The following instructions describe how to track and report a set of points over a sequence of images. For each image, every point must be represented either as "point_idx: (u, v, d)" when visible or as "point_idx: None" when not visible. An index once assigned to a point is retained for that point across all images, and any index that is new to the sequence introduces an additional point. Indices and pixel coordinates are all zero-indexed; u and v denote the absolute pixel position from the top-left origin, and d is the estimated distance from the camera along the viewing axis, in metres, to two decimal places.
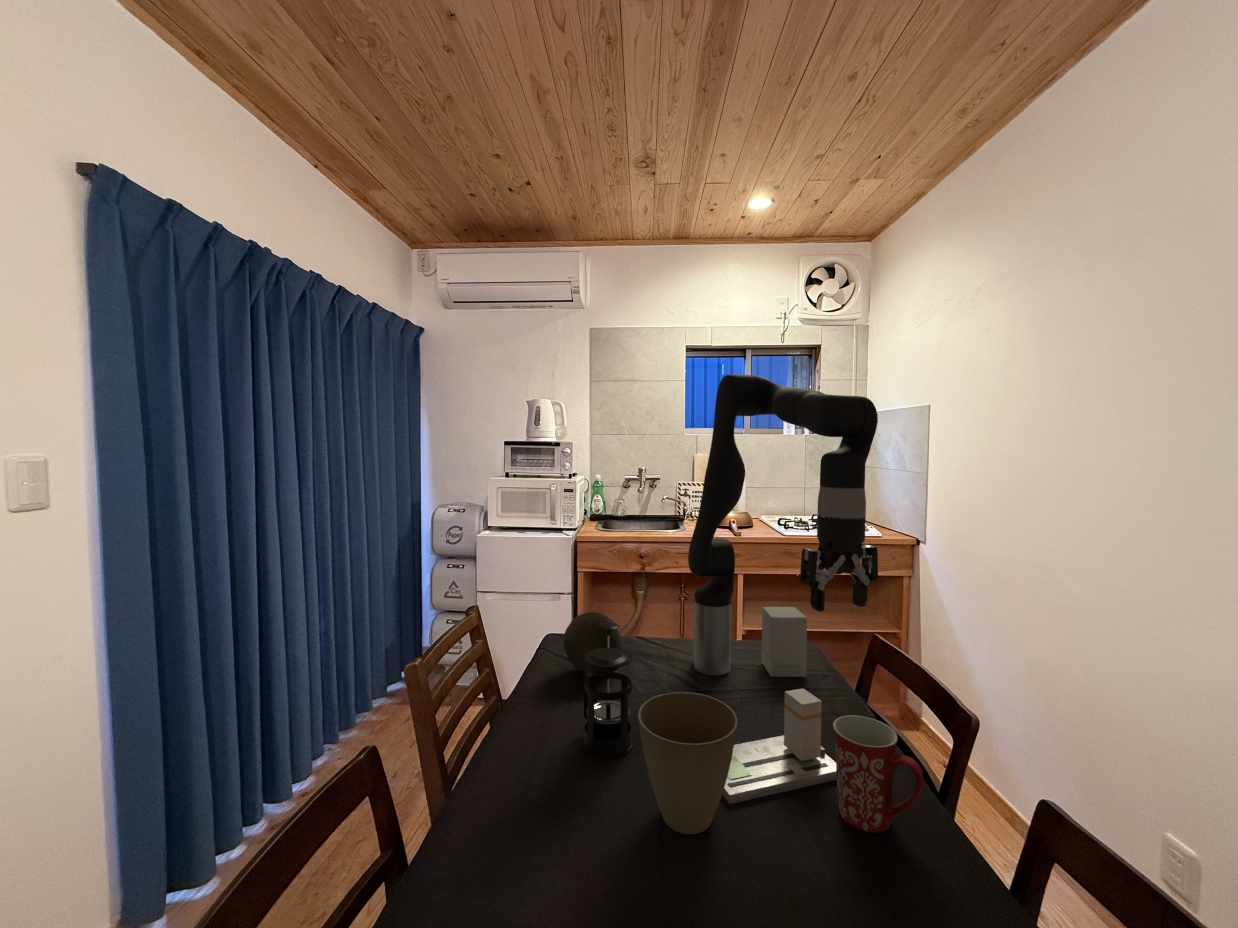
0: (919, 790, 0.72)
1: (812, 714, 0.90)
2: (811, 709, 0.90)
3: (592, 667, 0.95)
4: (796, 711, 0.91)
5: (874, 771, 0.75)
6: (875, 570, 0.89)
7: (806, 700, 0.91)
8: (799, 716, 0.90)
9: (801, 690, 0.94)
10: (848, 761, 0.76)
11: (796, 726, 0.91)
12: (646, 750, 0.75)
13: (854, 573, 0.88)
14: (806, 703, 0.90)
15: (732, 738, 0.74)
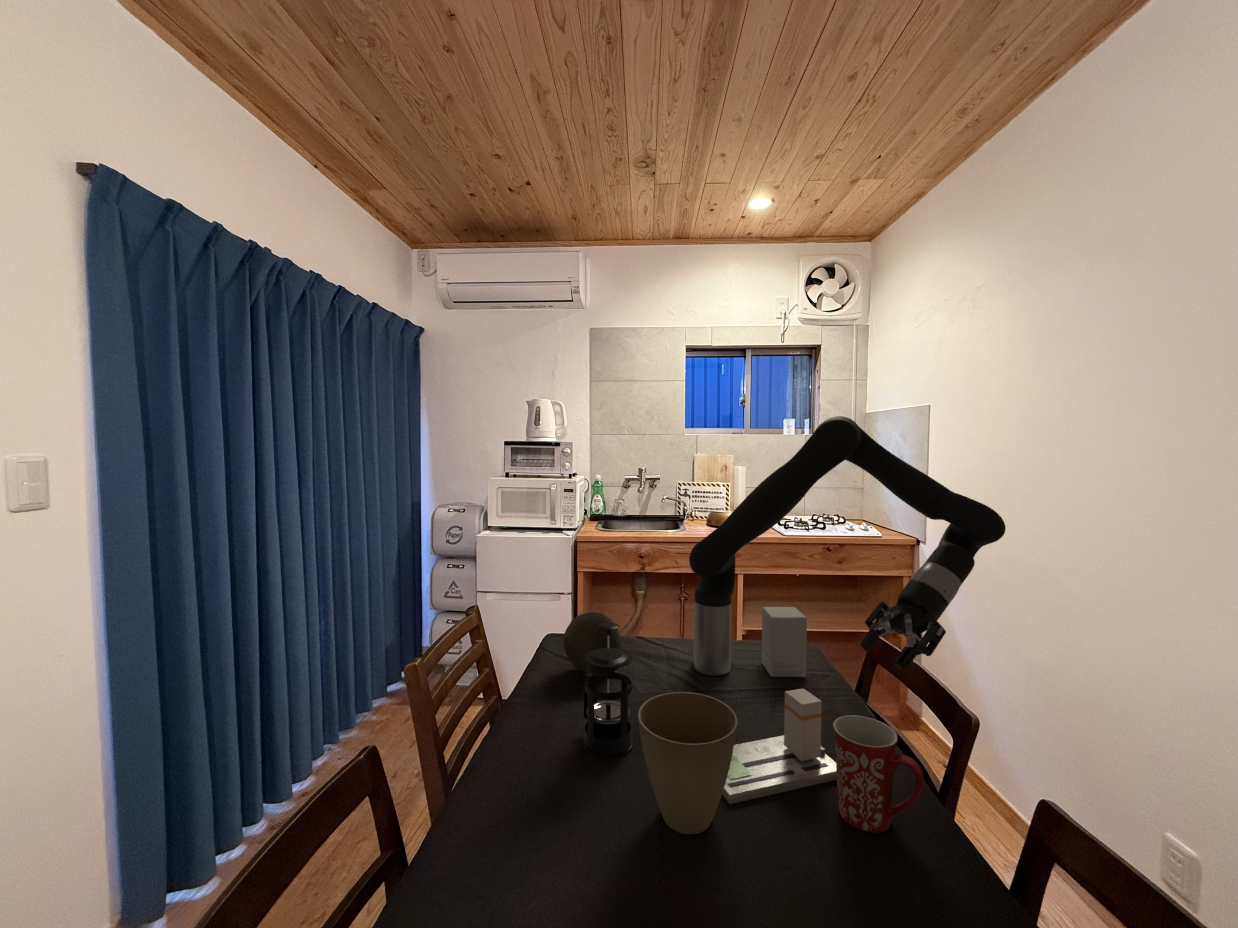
0: (919, 790, 0.72)
1: (812, 714, 0.90)
2: (811, 709, 0.90)
3: (592, 667, 0.95)
4: (796, 711, 0.91)
5: (874, 771, 0.75)
6: None
7: (806, 700, 0.91)
8: (799, 716, 0.90)
9: (801, 690, 0.94)
10: (848, 761, 0.76)
11: (796, 726, 0.91)
12: (646, 750, 0.75)
13: (887, 629, 1.01)
14: (806, 703, 0.90)
15: (732, 738, 0.74)
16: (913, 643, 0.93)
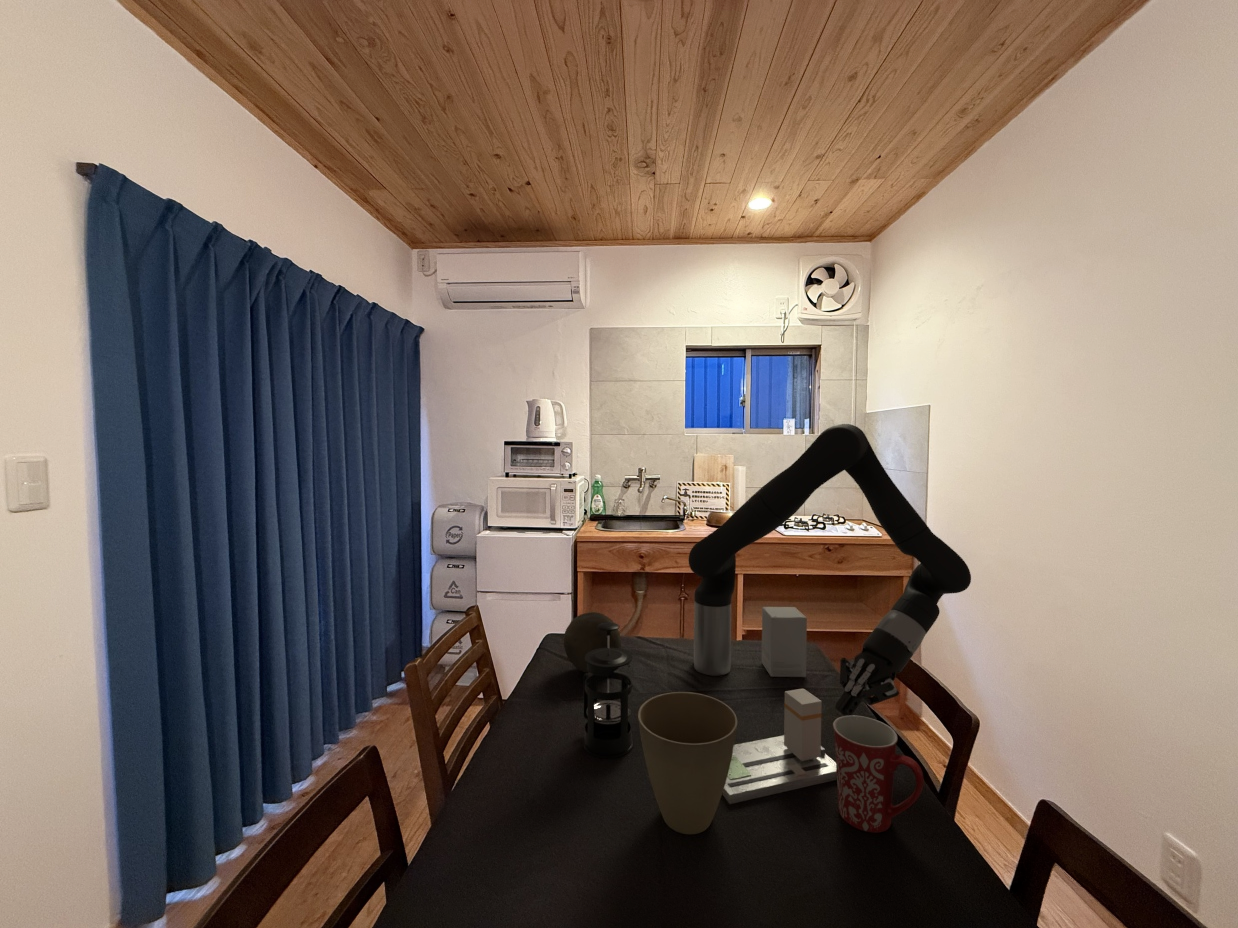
0: (919, 790, 0.72)
1: (812, 714, 0.90)
2: (811, 709, 0.90)
3: (592, 667, 0.95)
4: (796, 711, 0.91)
5: (874, 771, 0.75)
6: None
7: (806, 700, 0.91)
8: (799, 716, 0.90)
9: (801, 690, 0.94)
10: (848, 761, 0.76)
11: (796, 726, 0.91)
12: (646, 750, 0.75)
13: None
14: (806, 703, 0.90)
15: (732, 738, 0.74)
16: (856, 692, 0.94)
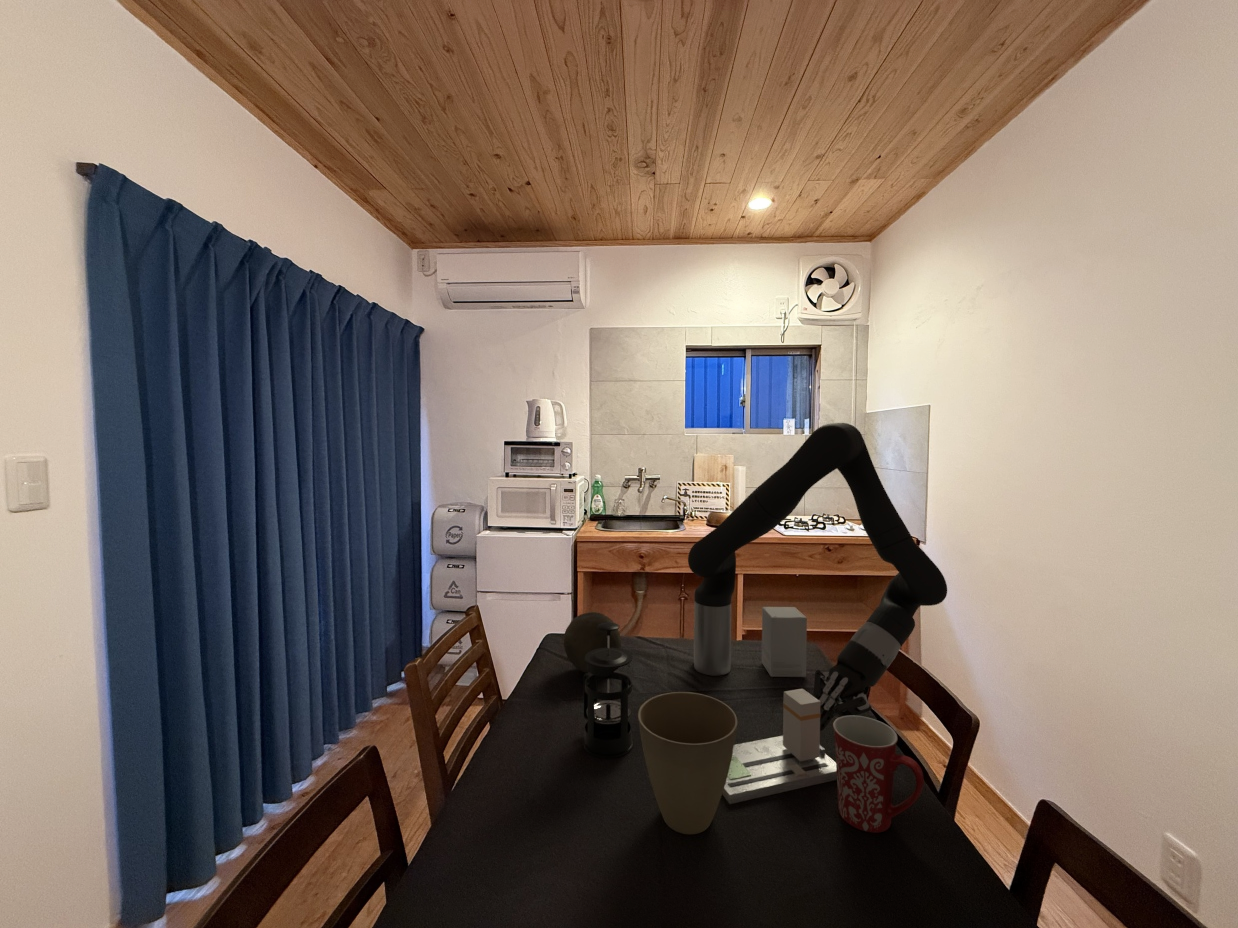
0: (919, 790, 0.72)
1: (811, 714, 0.90)
2: (810, 709, 0.90)
3: (592, 667, 0.95)
4: (795, 712, 0.91)
5: (874, 771, 0.75)
6: None
7: (805, 700, 0.91)
8: (798, 716, 0.90)
9: (800, 690, 0.94)
10: (848, 761, 0.76)
11: (795, 726, 0.91)
12: (646, 750, 0.75)
13: None
14: (805, 704, 0.89)
15: (732, 738, 0.74)
16: (829, 706, 0.93)
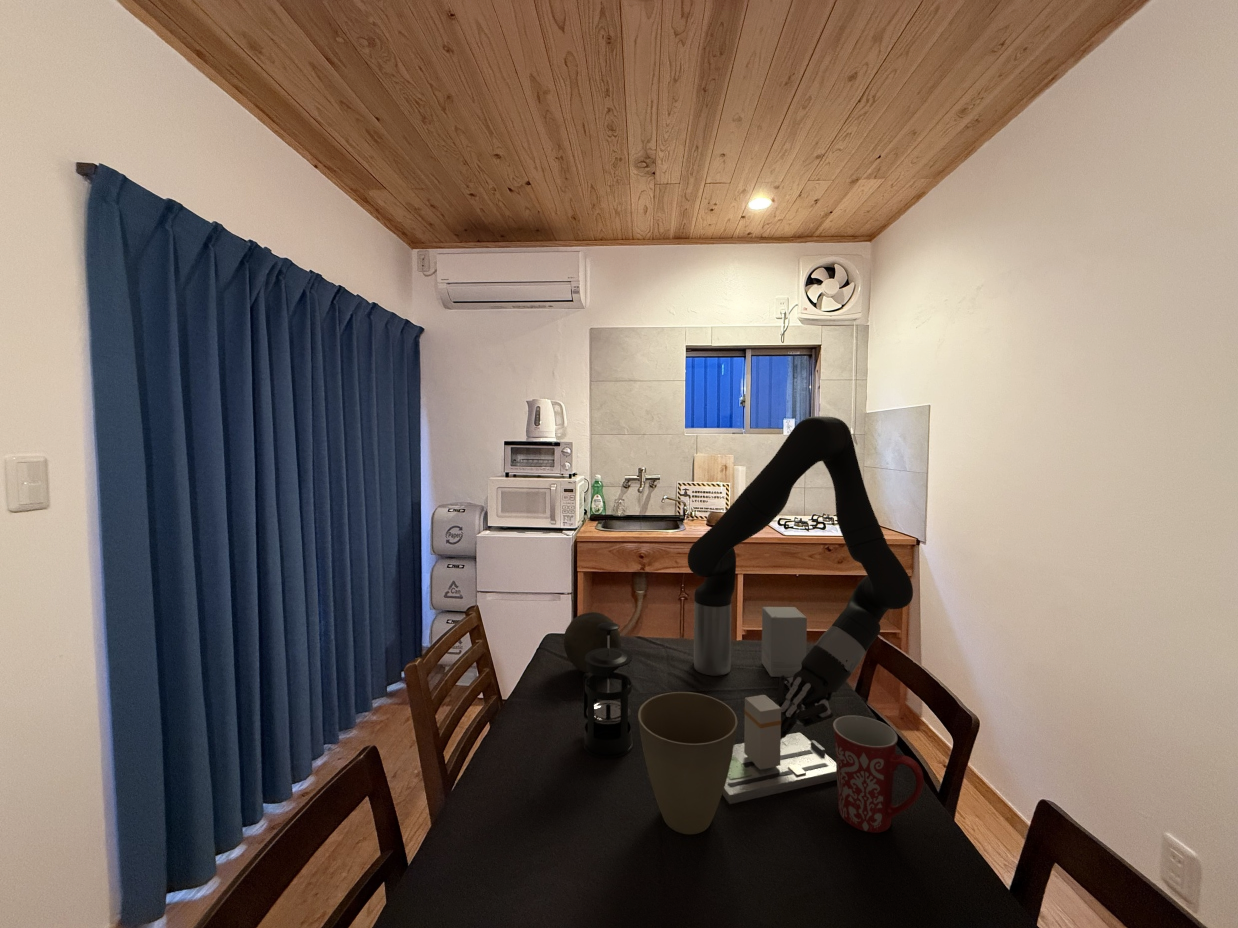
0: (919, 790, 0.72)
1: (771, 721, 0.87)
2: (770, 716, 0.87)
3: (592, 667, 0.95)
4: (755, 719, 0.88)
5: (874, 771, 0.75)
6: None
7: (766, 707, 0.88)
8: (758, 723, 0.87)
9: (762, 696, 0.92)
10: (848, 761, 0.76)
11: (755, 733, 0.88)
12: (646, 750, 0.75)
13: None
14: (765, 710, 0.87)
15: (732, 738, 0.74)
16: (791, 712, 0.90)
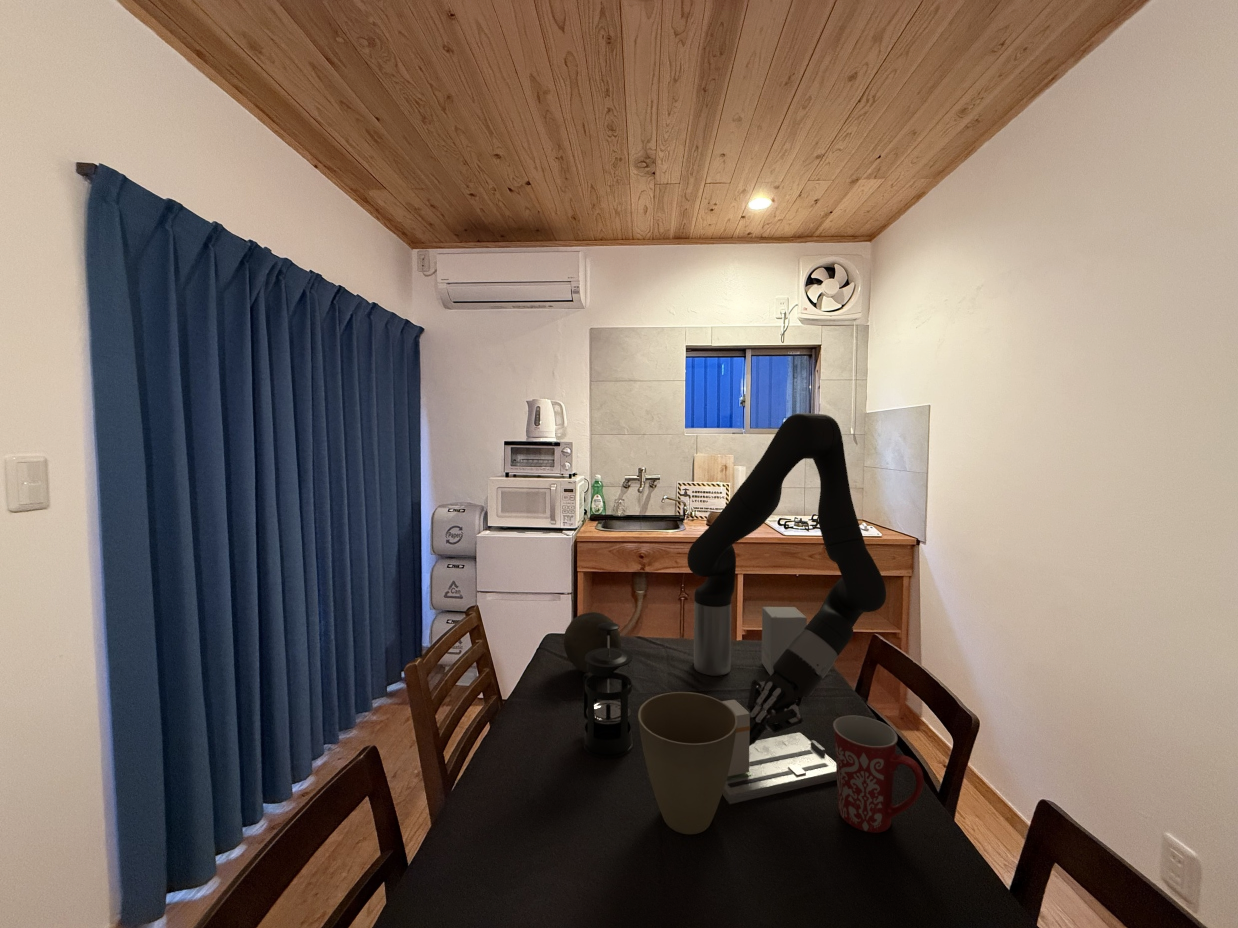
0: (919, 790, 0.72)
1: (739, 727, 0.86)
2: (738, 722, 0.86)
3: (592, 667, 0.95)
4: None
5: (874, 771, 0.75)
6: None
7: (734, 712, 0.86)
8: None
9: (731, 701, 0.90)
10: (848, 761, 0.76)
11: None
12: (646, 750, 0.75)
13: None
14: None
15: (732, 738, 0.74)
16: (761, 718, 0.88)
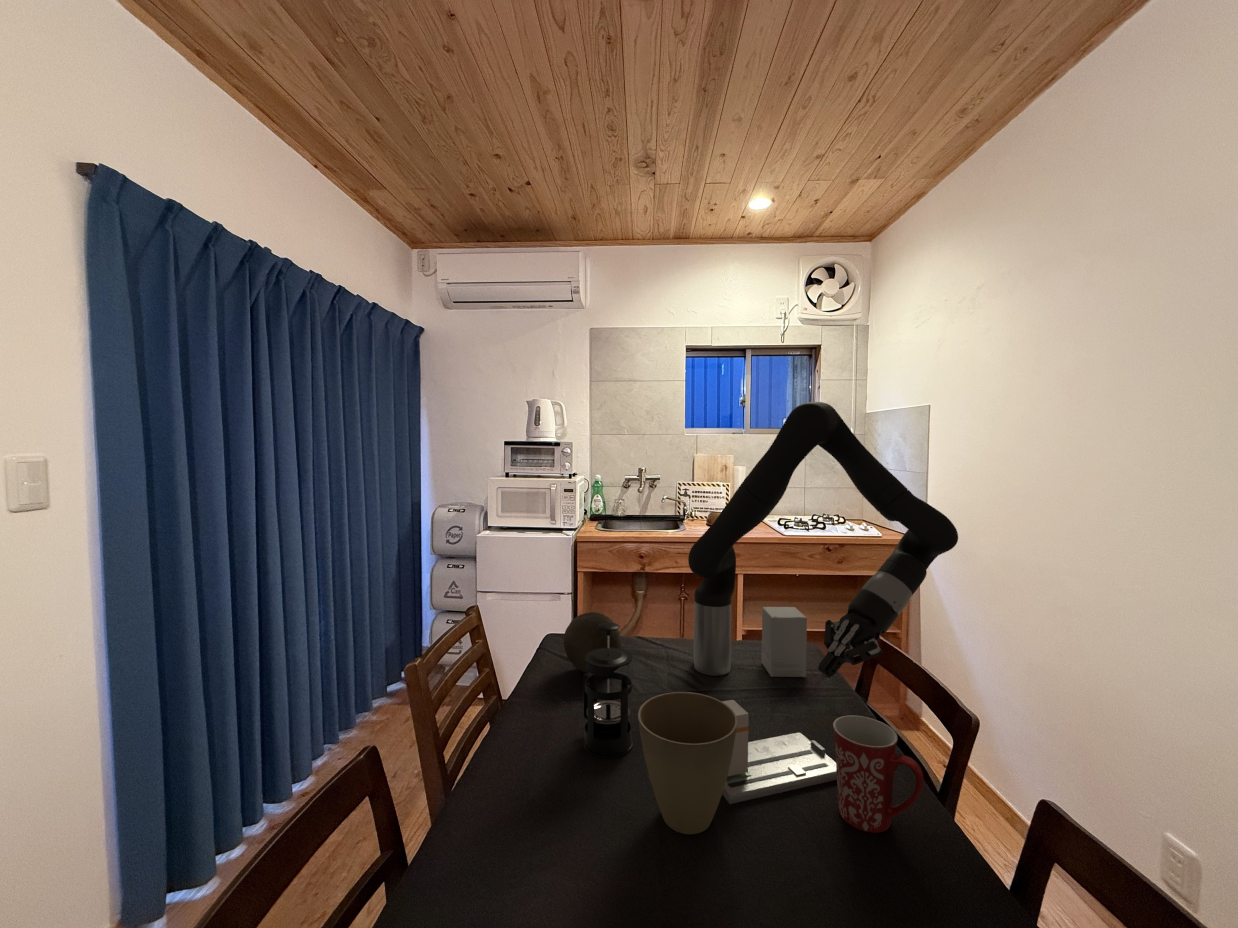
0: (919, 790, 0.72)
1: (738, 727, 0.86)
2: (737, 722, 0.85)
3: (592, 667, 0.95)
4: None
5: (874, 771, 0.75)
6: None
7: None
8: None
9: (730, 701, 0.90)
10: (848, 761, 0.76)
11: None
12: (646, 750, 0.75)
13: None
14: None
15: (732, 738, 0.74)
16: (840, 652, 0.93)
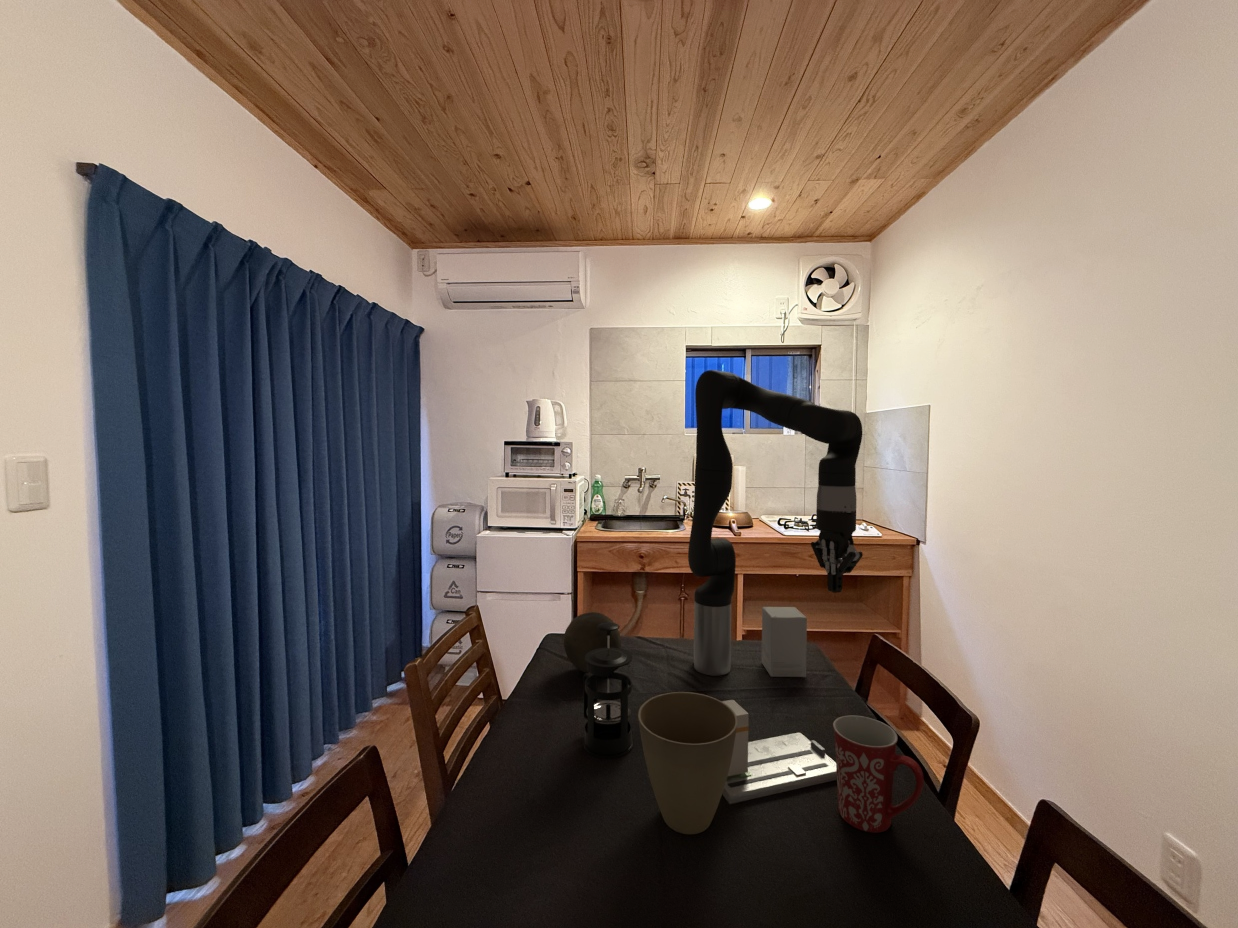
0: (919, 790, 0.72)
1: (738, 727, 0.86)
2: None
3: (592, 667, 0.95)
4: None
5: (874, 771, 0.75)
6: None
7: None
8: None
9: (730, 701, 0.90)
10: (848, 761, 0.76)
11: None
12: (646, 750, 0.75)
13: None
14: None
15: (732, 738, 0.74)
16: (834, 570, 1.04)
